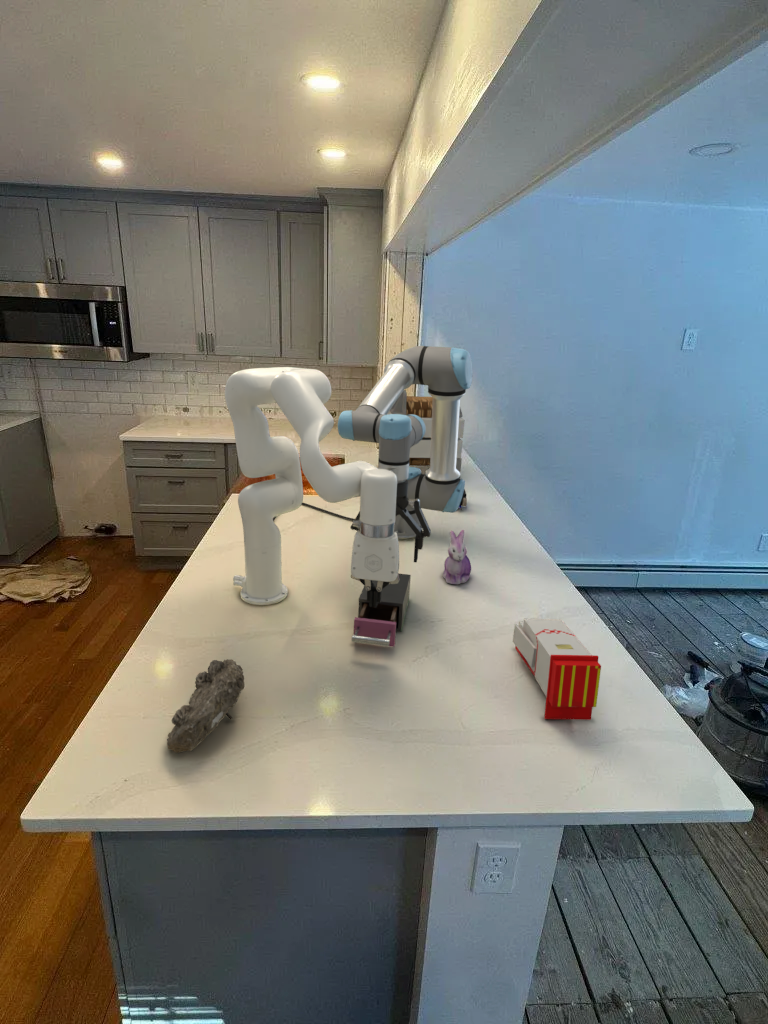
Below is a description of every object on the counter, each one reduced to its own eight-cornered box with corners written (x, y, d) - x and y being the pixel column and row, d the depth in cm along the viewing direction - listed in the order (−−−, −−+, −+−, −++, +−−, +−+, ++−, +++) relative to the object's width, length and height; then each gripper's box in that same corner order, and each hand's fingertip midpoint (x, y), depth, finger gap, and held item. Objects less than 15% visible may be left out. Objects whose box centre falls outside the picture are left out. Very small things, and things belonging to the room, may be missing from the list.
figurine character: (467, 515, 225) (461, 499, 238) (469, 498, 221) (463, 482, 235) (450, 514, 224) (445, 498, 238) (452, 497, 221) (447, 482, 234)
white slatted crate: (382, 463, 289) (386, 382, 275) (445, 464, 293) (451, 384, 279) (390, 482, 257) (394, 392, 243) (460, 483, 261) (468, 394, 247)
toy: (557, 603, 136) (610, 662, 107) (552, 655, 139) (602, 726, 109) (507, 602, 136) (546, 661, 106) (503, 654, 138) (540, 725, 109)
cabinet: (401, 631, 139) (403, 603, 137) (357, 626, 141) (358, 598, 138) (409, 600, 155) (410, 574, 152) (369, 595, 156) (370, 570, 153)
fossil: (192, 660, 117) (244, 628, 112) (224, 691, 120) (276, 661, 115) (142, 746, 98) (202, 712, 93) (182, 779, 101) (242, 748, 96)
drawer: (390, 660, 126) (392, 637, 124) (348, 655, 128) (348, 632, 126) (402, 614, 146) (403, 593, 144) (365, 610, 147) (366, 589, 145)
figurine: (453, 588, 162) (457, 540, 157) (434, 573, 170) (437, 527, 165) (479, 582, 166) (485, 535, 161) (459, 568, 175) (464, 523, 170)
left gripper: (338, 530, 118) (337, 608, 124) (410, 537, 116) (405, 616, 122) (346, 518, 125) (344, 592, 131) (414, 524, 123) (409, 600, 129)
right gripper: (339, 478, 137) (338, 558, 144) (443, 487, 134) (436, 568, 141) (346, 470, 144) (345, 546, 151) (444, 478, 140) (438, 556, 148)
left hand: (373, 604), depth 126 cm, fingers closed
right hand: (389, 557), depth 146 cm, fingers open, 13 cm apart
